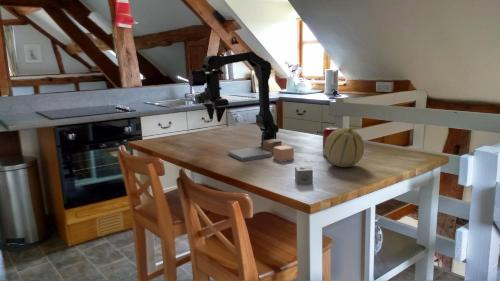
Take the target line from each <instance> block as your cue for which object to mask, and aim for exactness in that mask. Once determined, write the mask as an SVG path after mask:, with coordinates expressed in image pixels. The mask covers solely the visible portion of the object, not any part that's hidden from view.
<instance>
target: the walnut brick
mask: <svg viewBox="0 0 500 281" xmlns="http://www.w3.org/2000/svg"><path fill="white" fill-rule="evenodd" d="M282 144H283V141H282V140H279V139H270V140H263V144H262V148H263V150H265V151H268V152H270V153H272V154H273V147H277V146H283V145H282Z"/></svg>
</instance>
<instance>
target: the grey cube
mask: <svg viewBox="0 0 500 281" xmlns="http://www.w3.org/2000/svg"><path fill="white" fill-rule="evenodd" d="M313 177H314V171H313V168H312V167H311V166H310V165H306V166H305V165H304V166H303V165H301V166H294V181H296V182H295V183H296V185H297V186H311V185H314V183H313V182H314V178H313Z"/></svg>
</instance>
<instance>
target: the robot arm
mask: <svg viewBox="0 0 500 281" xmlns="http://www.w3.org/2000/svg"><path fill="white" fill-rule="evenodd" d="M245 61H247V63H248V64H249V65H250V66H251V67H252V68H253V72H254V75H255V78H256V80H257V86H258V87H257V88H258V100H259V101H258V102H259V103H258V104H259V112H258V113H257V114H255V123H256V125H257V127H258V128H259V130H260V131H261V135H260V136H261V142H260V145H263V140H270V139H277V133H279V129H280V128H279V126H277V125H276V124H275V121H274V116H273V114H272V112H271V109H270V108H271V106H270V87H269V86H270V85H269V80H270V77H271V74H272V63H271V62H270V61H269V60H265V59H264V58H263V57H261V56H259V55H258V54H256V52H254V51H253V50H248V51H244V52H239V53H234V54H233V53H232V54H228V55H207V56H205V57H204V59H203V63H202V65H201V66H200V69H198V70H195V69H191V70H189V74H188V78H187V80H188V81H187V82H188V85H189V86H190V88H191V87H202V86H203V87H204V86H205V85H206V87H205V88H204V91H201V92H200V93H198V94H196V95H193V98H194V101H195V102H196V104H201V105H202V106H203V107H204V108H205V109H206V112H207V115H208V118H209V120H213V119H214V113H215V115H216V121H217V122H218V123H220V122H222V121H221V120H222V119H223V117H224V113H225V111H226V109H227V108H228V106H229V104H230V103H229V100H228V99H227V98H223V97H222V96H221V90H222V87H221V86H220V85H221V84H220V83H221V82H220V75H224V73H225V72H223V71H222V69H221V68H222V67H225V66H227V65H230V64H237V63H241V62H245ZM277 140H278V139H277Z"/></svg>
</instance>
